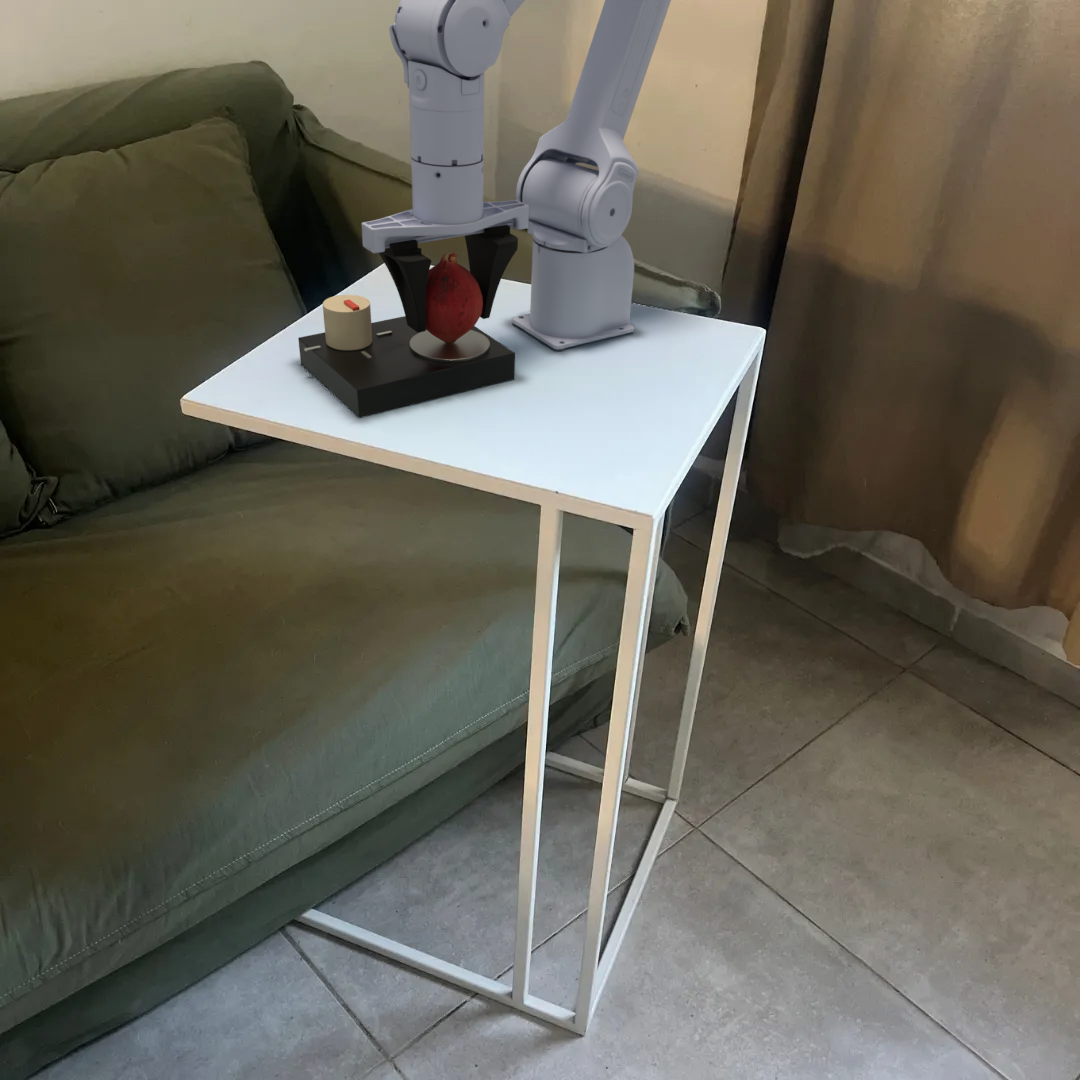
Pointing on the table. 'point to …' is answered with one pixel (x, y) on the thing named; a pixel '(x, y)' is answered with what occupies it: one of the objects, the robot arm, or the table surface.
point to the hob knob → (347, 322)
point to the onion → (451, 300)
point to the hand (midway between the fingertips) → (449, 321)
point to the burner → (450, 347)
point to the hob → (398, 369)
